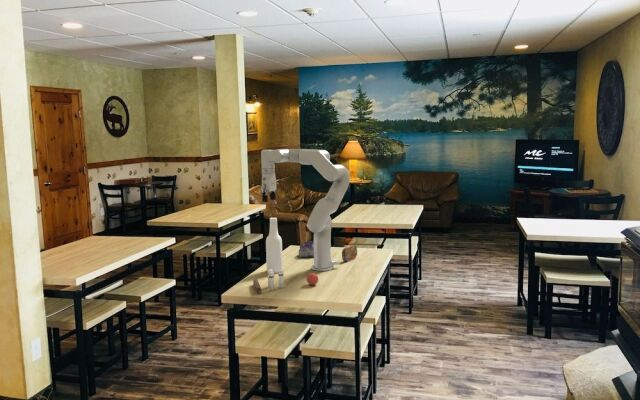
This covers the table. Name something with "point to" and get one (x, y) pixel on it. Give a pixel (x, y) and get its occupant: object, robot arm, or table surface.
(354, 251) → the brown rock slab
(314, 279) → the ball
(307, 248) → the geode
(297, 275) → the table surface
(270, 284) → the back pin left
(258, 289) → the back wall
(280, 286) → the front pin
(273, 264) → the alcohol
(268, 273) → the back pin right
